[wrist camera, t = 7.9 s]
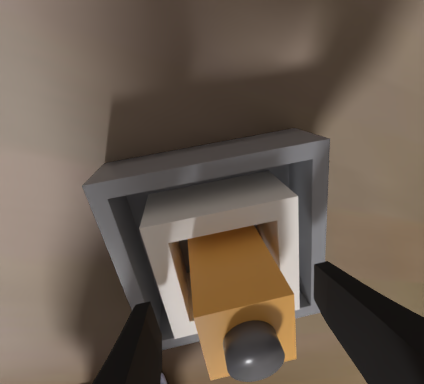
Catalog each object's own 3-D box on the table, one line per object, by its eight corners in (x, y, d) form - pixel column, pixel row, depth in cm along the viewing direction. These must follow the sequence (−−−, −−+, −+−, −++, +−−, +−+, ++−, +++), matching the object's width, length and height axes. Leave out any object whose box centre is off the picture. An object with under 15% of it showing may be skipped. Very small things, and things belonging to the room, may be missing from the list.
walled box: (297, 273, 18) (332, 326, 14) (153, 306, 18) (147, 370, 14) (295, 127, 14) (344, 143, 10) (104, 163, 13) (72, 195, 9)
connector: (248, 252, 16) (306, 380, 9) (196, 263, 16) (213, 404, 9) (242, 205, 15) (305, 313, 8) (185, 217, 14) (195, 340, 7)
